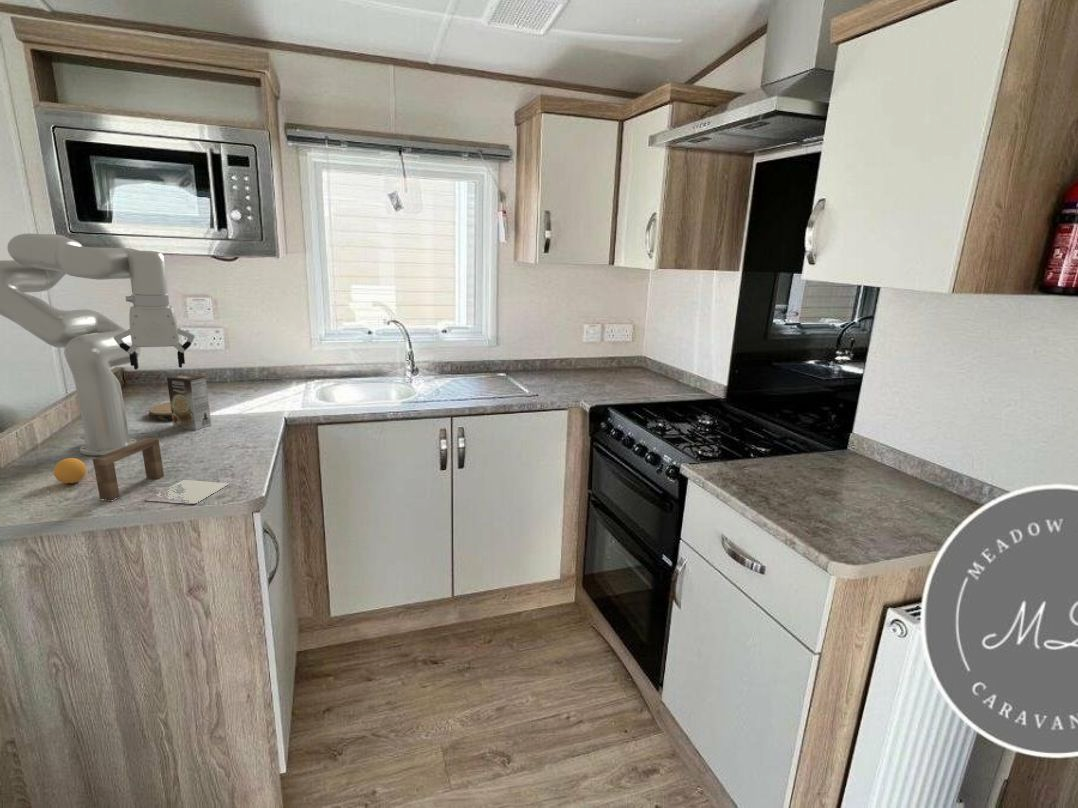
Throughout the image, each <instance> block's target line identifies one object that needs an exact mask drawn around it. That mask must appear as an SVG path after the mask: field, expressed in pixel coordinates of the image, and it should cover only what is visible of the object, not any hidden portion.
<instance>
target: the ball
mask: <svg viewBox="0 0 1078 808" xmlns="http://www.w3.org/2000/svg"><path fill="white" fill-rule="evenodd" d="M87 471H88V470H87V466H86V464H85V463H84V461H82V459H79V458H75V457H66V458H63V459H62V460H60V461H58V462H57V463H56V464H55V466H54V469H53V476H54V478H55V479H56V480H57V481H58V482H60V483H63V484H67V483H71V484H75V482H76V483H78V482H80V481H81V480H82V479H84V477H85V476H86V474H87Z"/></svg>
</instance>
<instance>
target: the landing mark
mask: <svg viewBox="0 0 1078 808" xmlns="http://www.w3.org/2000/svg"><path fill="white" fill-rule="evenodd" d="M180 484H181V485H182V486H181V487H183V488H184V489H186V490H184V491H185V492H184V491H183V492H184V494H183V493H181V495H179V494H177V493H175V492H177V491H176V490H174V489H177V488H175V487H174V486H177V485H180ZM230 484H231V483H228V482H215V481H205V480H194V479H193V480H192V479H182V480H180V481H179V482H176V483H175V484H173V485H171V486H169V487H168V488H171V487H174V489H172V488H171V489H170V490H168V491H169V492H168V491H167V492H168V496H169V497H167V496H166V495H165V496H166V497H167V498H168V499H172V498H174V499H178V498H175V497H178V496H180V497H184V498H183V500H189V503H197V504H199V503H201V502H202V501H204V500H205V498H206V497H207V498H209V497H210V495H211V494H213V493H214V494H216V493H217V491H218V492H219V491H221V490H223V489H225V488H226V487H228V486H229V485H230ZM227 485H228V486H227ZM225 486H226V487H225ZM177 487H178V486H177ZM222 488H223V489H222ZM220 489H221V490H220ZM171 490H173V491H175V492H173V491H171ZM160 492H161V491H160ZM160 492H158V493H159V494H157V493H155V494H156V495H157V496H159V497H162V496H160V495H161V493H160ZM215 492H216V493H215ZM169 494H170V495H169ZM214 494H213V495H214ZM182 495H183V496H182ZM173 496H174V497H173ZM208 496H209V497H208ZM211 496H212V495H211ZM207 498H206V499H207ZM203 499H204V500H203ZM180 500H181V499H180ZM201 500H202V501H201ZM198 501H199V503H198ZM200 501H201V502H200ZM185 502H188V501H185Z"/></svg>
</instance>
